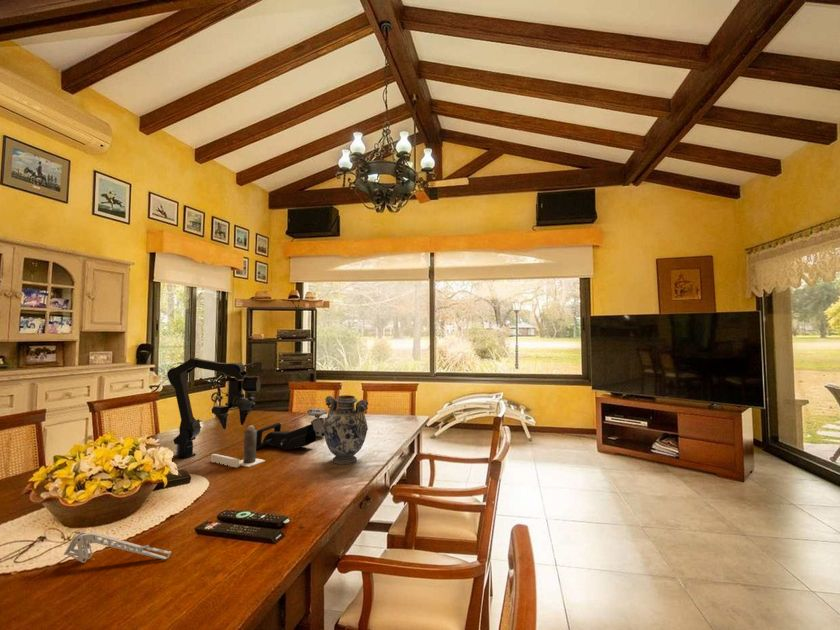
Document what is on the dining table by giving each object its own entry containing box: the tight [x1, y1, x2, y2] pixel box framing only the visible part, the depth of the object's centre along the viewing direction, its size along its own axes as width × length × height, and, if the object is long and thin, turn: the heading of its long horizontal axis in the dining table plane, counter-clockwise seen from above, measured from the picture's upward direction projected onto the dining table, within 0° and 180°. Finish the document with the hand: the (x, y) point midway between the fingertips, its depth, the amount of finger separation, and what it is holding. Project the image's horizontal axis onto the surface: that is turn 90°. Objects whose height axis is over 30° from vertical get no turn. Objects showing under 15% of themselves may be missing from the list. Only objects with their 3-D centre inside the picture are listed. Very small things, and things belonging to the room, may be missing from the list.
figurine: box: [306, 407, 328, 439], centre depth 217 cm, size 9×12×15 cm
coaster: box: [239, 457, 266, 468], centre depth 172 cm, size 9×9×1 cm
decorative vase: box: [323, 394, 369, 465], centre depth 178 cm, size 21×19×28 cm
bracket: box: [63, 531, 172, 564], centre depth 99 cm, size 3×21×10 cm, turn 96°
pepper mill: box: [242, 425, 258, 463], centre depth 173 cm, size 5×5×15 cm
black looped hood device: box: [256, 422, 317, 451], centre depth 195 cm, size 17×27×15 cm, turn 75°
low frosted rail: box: [210, 453, 240, 468], centre depth 170 cm, size 15×2×3 cm, turn 64°
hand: (233, 426), depth 180 cm, fingers open, 9 cm apart
